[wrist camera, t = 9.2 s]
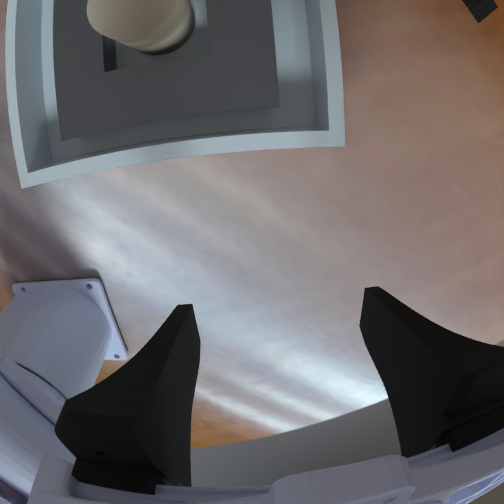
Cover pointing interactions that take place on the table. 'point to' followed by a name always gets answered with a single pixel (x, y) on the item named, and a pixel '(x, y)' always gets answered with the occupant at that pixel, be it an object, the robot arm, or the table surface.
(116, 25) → the peg
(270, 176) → the table surface
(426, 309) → the table surface
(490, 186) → the table surface
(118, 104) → the plate
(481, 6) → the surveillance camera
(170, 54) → the tray
